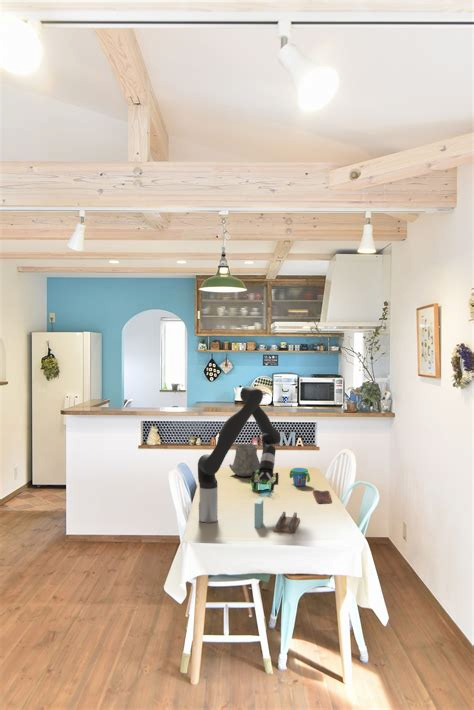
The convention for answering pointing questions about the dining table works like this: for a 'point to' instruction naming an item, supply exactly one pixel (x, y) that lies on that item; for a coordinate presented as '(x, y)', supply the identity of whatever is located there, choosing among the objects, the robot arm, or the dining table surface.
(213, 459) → the robot arm
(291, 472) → the snack cup
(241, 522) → the dining table surface
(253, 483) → the green potted plant
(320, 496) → the wooden tablet
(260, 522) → the door panel
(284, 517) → the track board
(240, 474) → the vessel
